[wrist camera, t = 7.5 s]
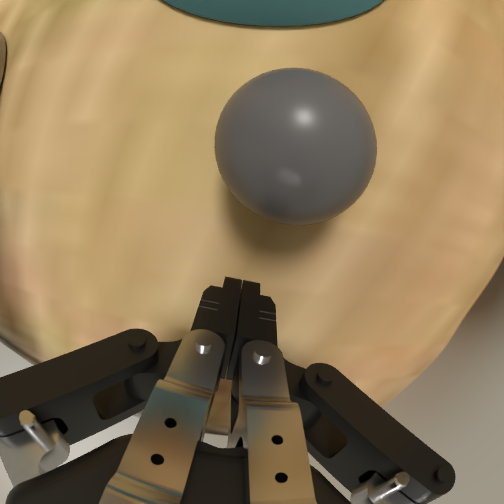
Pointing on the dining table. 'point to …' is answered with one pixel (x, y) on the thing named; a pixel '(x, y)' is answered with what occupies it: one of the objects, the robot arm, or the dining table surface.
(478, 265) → the dining table surface
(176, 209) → the dining table surface
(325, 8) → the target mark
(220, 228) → the dining table surface
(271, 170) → the grey rubber ball
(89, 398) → the robot arm
